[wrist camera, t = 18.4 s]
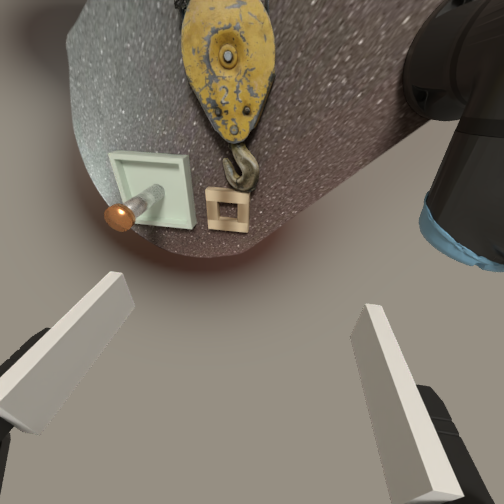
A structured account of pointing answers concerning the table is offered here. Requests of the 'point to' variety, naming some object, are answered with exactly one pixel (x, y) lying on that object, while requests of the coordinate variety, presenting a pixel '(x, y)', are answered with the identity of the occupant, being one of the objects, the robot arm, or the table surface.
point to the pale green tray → (157, 172)
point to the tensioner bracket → (229, 196)
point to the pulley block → (230, 71)
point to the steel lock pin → (133, 208)
